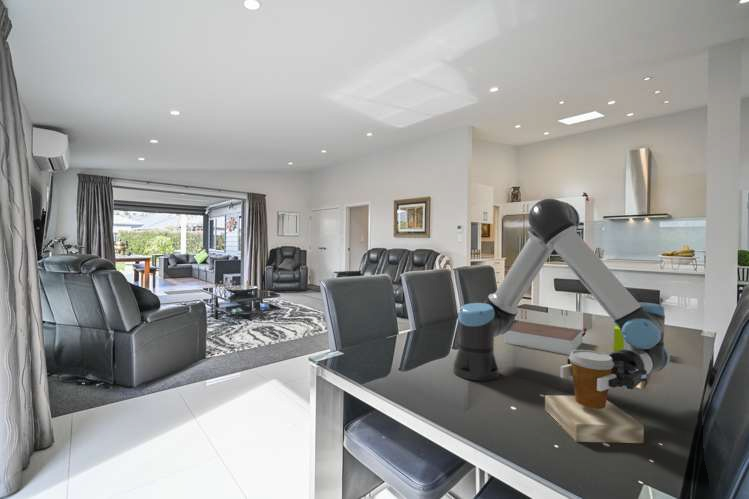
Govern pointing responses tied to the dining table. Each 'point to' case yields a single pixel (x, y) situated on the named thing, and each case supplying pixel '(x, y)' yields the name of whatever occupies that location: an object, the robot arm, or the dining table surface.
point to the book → (544, 337)
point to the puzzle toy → (619, 340)
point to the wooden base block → (594, 421)
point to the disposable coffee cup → (590, 376)
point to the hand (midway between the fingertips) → (579, 378)
